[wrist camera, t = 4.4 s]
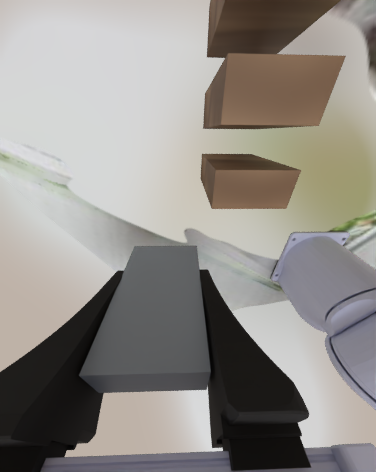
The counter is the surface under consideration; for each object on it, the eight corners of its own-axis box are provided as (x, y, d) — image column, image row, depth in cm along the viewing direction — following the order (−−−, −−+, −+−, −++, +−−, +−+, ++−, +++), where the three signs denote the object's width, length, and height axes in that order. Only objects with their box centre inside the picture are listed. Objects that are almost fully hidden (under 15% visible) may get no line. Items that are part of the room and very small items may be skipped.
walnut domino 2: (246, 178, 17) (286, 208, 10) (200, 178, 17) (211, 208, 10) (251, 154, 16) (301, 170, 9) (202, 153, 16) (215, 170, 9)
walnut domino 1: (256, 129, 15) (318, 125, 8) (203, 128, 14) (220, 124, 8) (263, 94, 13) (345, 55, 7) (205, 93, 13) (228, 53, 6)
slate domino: (195, 266, 14) (206, 389, 7) (139, 267, 14) (98, 392, 7) (196, 245, 13) (210, 371, 6) (134, 246, 12) (78, 375, 6)
